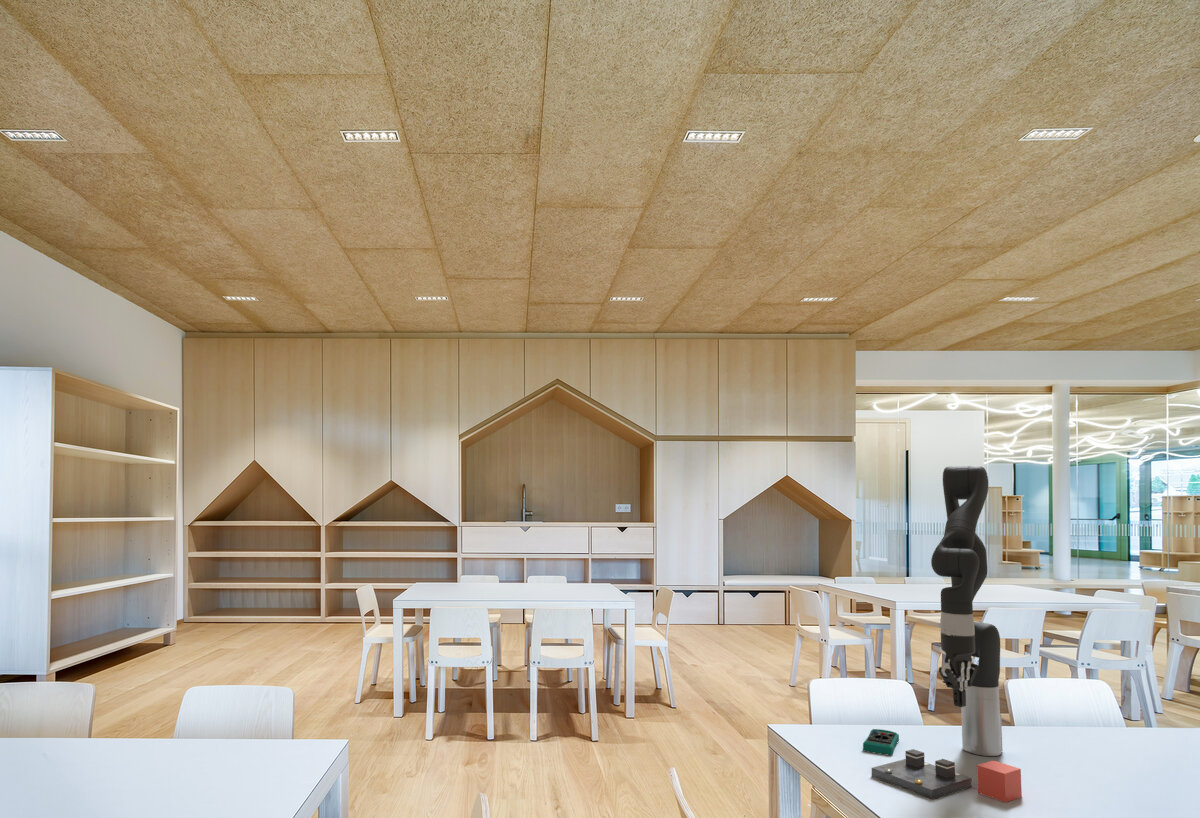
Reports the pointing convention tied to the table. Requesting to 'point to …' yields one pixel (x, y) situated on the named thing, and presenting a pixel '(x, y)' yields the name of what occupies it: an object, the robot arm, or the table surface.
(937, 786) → the breaker panel
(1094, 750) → the table surface
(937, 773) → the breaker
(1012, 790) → the red cube
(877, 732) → the digital multimeter
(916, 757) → the breaker
